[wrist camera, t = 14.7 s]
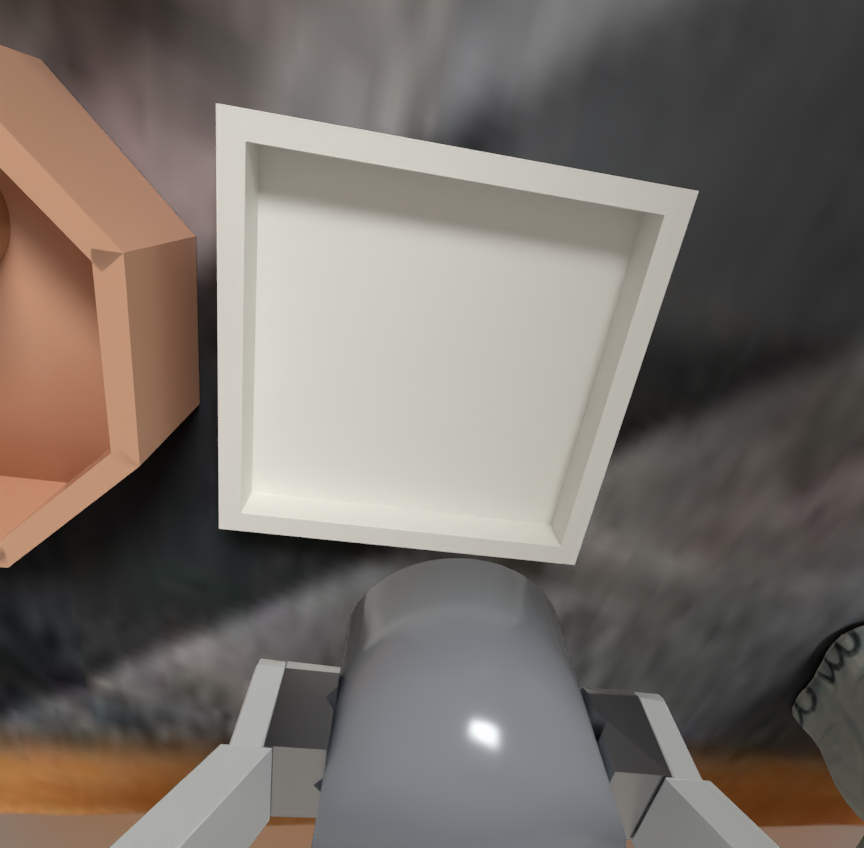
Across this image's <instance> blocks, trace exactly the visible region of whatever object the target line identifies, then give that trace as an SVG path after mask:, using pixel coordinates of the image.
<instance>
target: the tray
mask: <svg viewBox="0 0 864 848" xmlns="http://www.w3.org/2000/svg"><path fill="white" fill-rule="evenodd" d="M698 192H699V191H696V190H690V189H685V188H679V187H674V186H668V185H663V184H657V183H652V182H646V181H641V180H636V179H630V178H625V177H619V176H614V175H608V174H603V173H597V172H592V171H586V170H581V169H575V168H570V167H564V166H559V165H553V164H548V163H542V162H537V161H531V160H526V159H520V158H515V157H509V156H504V155H498V154H493V153H487V152H482V151H476V150H471V149H465V148H460V147H454V146H449V145H444V144H438V143H433V142H427V141H422V140H416V139H411V138H405V137H400V136H394V135H389V134H383V133H378V132H372V131H367V130H361V129H356V128H350V127H345V126H339V125H334V124H328V123H323V122H317V121H312V120H306V119H301V118H295V117H290V116H284V115H279V114H273V113H268V112H262V111H257V110H252V109H246V108H241V107H235V106H230V105H224V104H219V103H216V200H217V337H218V474H219V529H226V530H236V531H246V532H256V533H266V534H275V535H285V536H295V537H305V538H315V539H324V540H334V541H344V542H354V543H364V544H374V545H383V546H393V547H403V548H413V549H423V550H432V551H442V552H452V553H462V554H472V555H481V556H491V557H501V558H511V559H521V560H530V561H540V562H550V563H560V564H570V565H575V563H576V560H577V557H578V554H579V551H580V548H581V545H582V542H583V539H584V536H585V533H586V530H587V527H588V524H589V521H590V518H591V515H592V512H593V509H594V506H595V503H596V500H597V497H598V494H599V491H600V488H601V485H602V482H603V478H604V475H605V472H606V469H607V466H608V463H609V460H610V457H611V454H612V451H613V448H614V445H615V442H616V439H617V436H618V433H619V430H620V427H621V424H622V421H623V418H624V415H625V412H626V409H627V406H628V403H629V400H630V397H631V394H632V391H633V388H634V385H635V382H636V379H637V376H638V373H639V370H640V367H641V364H642V361H643V358H644V355H645V352H646V349H647V346H648V343H649V340H650V337H651V334H652V331H653V328H654V325H655V322H656V319H657V316H658V313H659V310H660V307H661V304H662V301H663V298H664V295H665V292H666V289H667V286H668V283H669V280H670V277H671V274H672V271H673V268H674V265H675V262H676V259H677V256H678V253H679V250H680V247H681V244H682V241H683V238H684V235H685V231H686V228H687V225H688V222H689V219H690V216H691V213H692V210H693V207H694V204H695V201H696V198H697V195H698Z"/></svg>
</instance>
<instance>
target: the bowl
mask: <svg viewBox="0 0 864 848" xmlns="http://www.w3.org/2000/svg"><path fill="white" fill-rule="evenodd" d="M0 190H1V192H2V195H3V197H4V200H5V202H6V206H7V209H8V213H9V220H10V238H9V244H8V247H7V250H6V252H5V254H4V256H3V258H2V260H1V261H0V567H6V568H8V567H10V566H11V565H12V564H14V563H15V562H16V561H18V560H19V559H20V558H21V557H23V556H24V555H25V554H27V553H28V552H29V551H30V550H32V549H33V548H34V547H36V546H37V545H38V544H40V543H41V542H42V541H43V540H45V539H46V538H47V537H49V536H50V535H51V534H53V533H54V532H55V531H56V530H58V529H59V528H60V527H62V526H63V525H64V524H65V523H67V522H68V521H69V520H71V519H72V518H73V517H75V516H76V515H77V514H78V513H80V512H81V511H82V510H84V509H85V508H86V507H88V506H89V505H90V504H91V503H93V502H94V501H95V500H97V499H98V498H99V497H100V496H102V495H103V494H104V493H106V492H107V491H108V490H110V489H111V488H112V487H113V486H115V485H116V484H117V483H119V482H120V481H121V480H122V479H124V478H125V477H126V476H128V475H129V474H130V473H132V472H133V471H134V470H135V469H137V468H138V467H139V466H140V465H141V464H142V463H143V462H144V461H145V460H146V459H147V458H148V457H149V456H150V455H151V454H152V453H153V452H154V451H155V450H156V449H157V448H158V447H159V446H160V445H161V444H162V442H163V441H164V440H165V439H166V438H167V437H168V436H169V435H170V434H171V433H172V432H173V431H174V430H175V429H176V428H177V427H178V426H179V425H180V424H181V423H182V422H183V421H184V420H185V419H186V418H187V417H188V415H189V414H190V413H191V412H192V411H193V410H194V409H195V408H196V407H197V406H198V405H199V404H200V398H199V353H198V309H197V264H196V236H195V235H194V234H193V233H192V232H191V230H190V229H189V228H188V227H187V226H186V225H185V224H184V222H183V221H182V220H181V219H180V218H179V217H178V216H177V214H176V213H175V212H174V211H173V210H172V209H171V208H170V206H169V205H168V204H167V203H166V202H165V201H164V200H163V198H162V197H161V196H160V195H159V194H158V193H157V192H156V190H155V189H154V188H153V187H152V186H151V185H150V184H149V182H148V181H147V180H146V179H145V178H144V177H143V176H142V174H141V173H140V172H139V171H138V170H137V169H136V168H135V166H134V165H133V164H132V163H131V162H130V161H129V160H128V158H127V157H126V156H125V155H124V154H123V153H122V152H121V150H120V149H119V148H118V147H117V146H116V145H115V144H114V142H113V141H112V140H111V139H110V138H109V137H108V136H107V134H106V133H105V132H104V131H103V130H102V129H101V128H100V126H99V125H98V124H97V123H96V122H95V121H94V120H93V118H92V117H91V116H90V115H89V114H88V113H87V112H86V110H85V109H84V108H83V107H82V106H81V105H80V104H79V102H78V101H77V100H76V99H75V98H74V97H73V95H72V94H71V93H70V92H69V91H68V90H67V89H66V87H65V86H64V85H63V84H62V83H61V82H60V81H59V79H58V78H57V77H56V76H55V75H54V74H53V73H52V71H51V70H50V69H49V68H48V67H47V66H46V65H45V63H44V62H43V61H42V60H41V59H39V58H36V57H33V56H30V55H27V54H25V53H22V52H19V51H16V50H13V49H10V48H7V47H5V46H2V45H0Z"/></svg>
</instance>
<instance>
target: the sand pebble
mask: <svg viewBox="0 0 864 848" xmlns="http://www.w3.org/2000/svg"><path fill="white" fill-rule="evenodd" d="M9 238H10V220H9V213H8V209H7V206H6V202H5V200H4V197H3V195H2V192H1V190H0V261H1V260H2V258H3V256H4V254H5V252H6V250H7V247H8V244H9Z"/></svg>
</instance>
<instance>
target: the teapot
mask: <svg viewBox="0 0 864 848" xmlns="http://www.w3.org/2000/svg"><path fill="white" fill-rule="evenodd" d="M792 712H793V717H794V718H795V719H796V721H797V722H798V723H799V725H800V726H801V727H802V728H803V729H804V730H805V731H806V732H807V733H808V734H809V735H810V737H811V738H812V739H813V740H814V742H815V743H816V745H817V746H818V748H819V749H820V751H821V754H822V756H823V758H824V761H825V763H826V765H827V768H828V770H829V772H830V775H831V777H832V779H833V782H834V784H835V786H836V787H837V789H838V790H839V792H840V793H841V795H842V797H843V798H844V800H845V801H846V802H847V804H848V805H849V806H850V807H851V808H852V810H853V811H854V812H855V813H856V814H857V816H858V817H860V818H861V819H862V820H863V821H864V625H863V626H860V627H857V628H855V629H853V630H851V631H849V632H847V633H845V634H842V635H841V636H840V637H839V638H838V639H837V640H836V641H835V642H834V643H833V644H832V645H831V647H830V648H829V649H828V651H827V652H826V654H825V656H824V659H823V661H822V663H821V664H820V666H819V667H818V669H817V671H816V673H815V675H814V678H813V679H812V680H811V682H810V683H809V684H808V685H807V687H806V688H805V689H804V690H802V691H801V693H800V694H799V695H798V697H797V699H796V701H795V703H794V705H793V707H792ZM856 848H864V837H863V838H862V840H861V841H860V843H859V844H858V846H857V847H856Z"/></svg>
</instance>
